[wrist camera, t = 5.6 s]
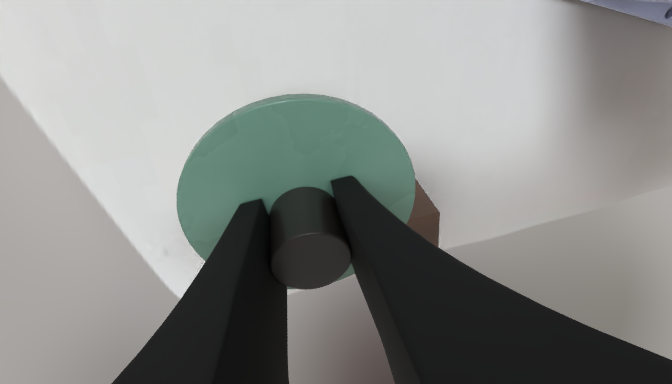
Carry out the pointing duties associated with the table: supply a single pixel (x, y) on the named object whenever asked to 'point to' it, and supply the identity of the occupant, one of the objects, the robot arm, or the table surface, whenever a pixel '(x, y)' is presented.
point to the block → (424, 216)
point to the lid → (293, 180)
